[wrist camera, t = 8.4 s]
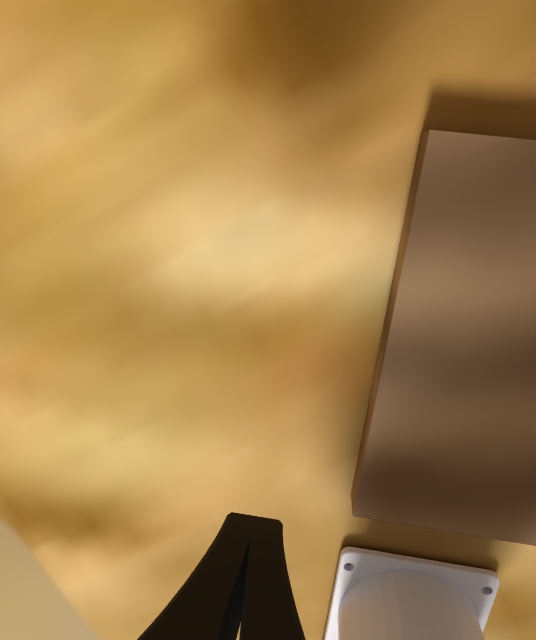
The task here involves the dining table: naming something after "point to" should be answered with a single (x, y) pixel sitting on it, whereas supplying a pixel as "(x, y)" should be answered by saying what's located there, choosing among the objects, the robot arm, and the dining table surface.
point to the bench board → (459, 349)
